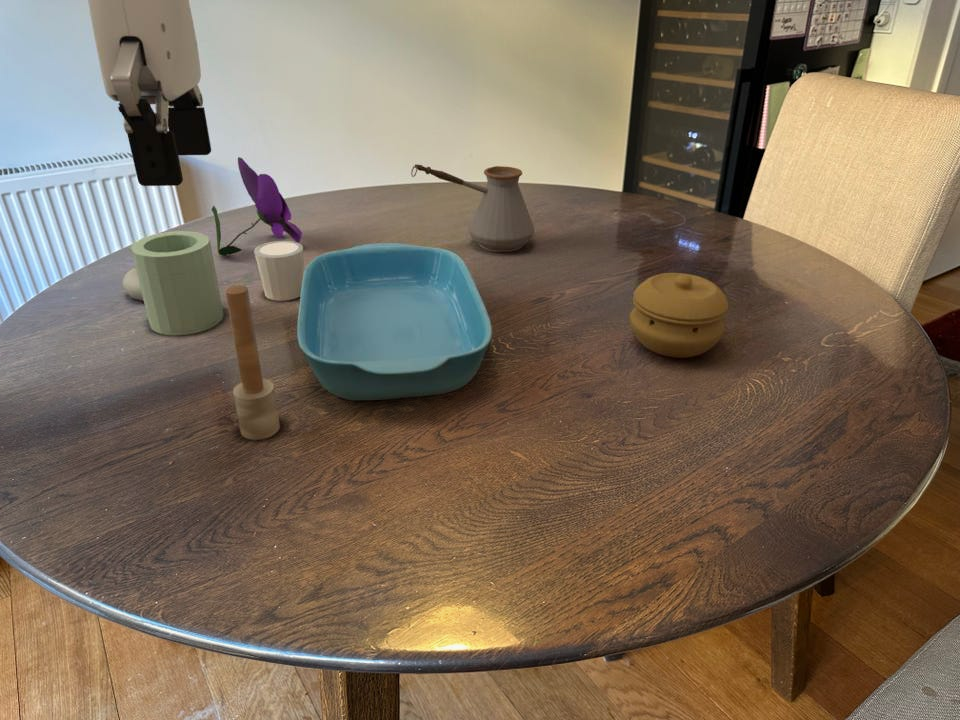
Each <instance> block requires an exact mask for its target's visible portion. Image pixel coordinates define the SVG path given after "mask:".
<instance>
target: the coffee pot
mask: <svg viewBox="0 0 960 720" xmlns="http://www.w3.org/2000/svg"><path fill="white" fill-rule="evenodd" d="M414 169H415V171H414ZM418 171H420V172H424V173H425V174H426V175H432V176H434V177H435V178H437V179H440V180H443V181H446V182H449V183H454V184H456V185H460V186H464V187H467V188H469V189H472V190H475V191H477V192H480V193H482V195H481V197H480V200H479V202H478V205H477V206H476V209H475V211H474V213H473V215H472V217H471V220H470V222H469V225H468V229H467V230H468V233H469V235H470V237H471V239H472V240H473V241H474V242H475V243H476V244H478V246H479V247H480V248H481V249H484V250H486V251H489V252H494V253H508V252H509V253H510V252H514V251H518V250H520V249H521V248H522V247H523V246H524V245H526V244H527V243H528V242H529V241H530V240H531V239H532V238H533V235H534V233H535V226H534V223H533V221H532V218H531V215H530V213H529V210H528V208H527V205H526V202H525V199H524V197H523V194H522V191H521V188H520V186H519V180H520V177H521V176H522V175H523V171H522V170H521V169H519V168H518V167H512V166H502V165H501V166H500V165H495V166H491V167H488V168H485V169H484V170H483V174H484V176H486V181H487V184H486V186H482V185H479V184H476V183H474V182H473V183H472V182H469V181H466V180H464V179H462V178H460V177H457V176H455V175H452V174H450V173H447V172H446V171H443V170H438V169H432V168H431V166H423V165H422V164H414V165H413V167H412V168H411V172H410V175H411V177H412V178H415V176H416V175H417V173H418ZM413 172H415V173H414V174H413Z"/></svg>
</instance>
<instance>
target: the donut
mask: <svg viewBox="0 0 960 720" xmlns="http://www.w3.org/2000/svg"><path fill="white" fill-rule="evenodd" d="M121 283H122V288H123V290H124V292H125V293H126V294H127V296H129V297H131V298H132V299H134V300H137V301H142V302H144V300H143V296H142V292H141V288H140V284H139V280H138V276H137V271H136V267H135V266H134V267H133V268H131V269H130V270H129V271H127V272H126V273H125V275H124V276H123V279H122V281H121Z"/></svg>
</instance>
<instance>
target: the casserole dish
mask: <svg viewBox="0 0 960 720" xmlns="http://www.w3.org/2000/svg"><path fill="white" fill-rule="evenodd" d="M296 324H297V325H296V326H297V327H296V328H297V329H296V334H297V342H298V346H299V348H300V350H301V351H302V353H303V354H304V357H305V359H306V361H307V363H308V365H309V367H310V369H311V370H312V372H313V374H314V376H315V377H316V379H317V381H318V382H319V383H320V385H321V386H322V387H323V388H324V389H325V390H326V391H327V392H329V393H330V394H333V395H334V396H336V397H339V398H341V399H344V400H348V401H360V402H361V401H385V400H386V401H388V400H398V399H401V398H405V399H407V398H418V397H419V398H420V397H428V396H436V395H442V394H447V393H451V392H453V391H457V390H458V389H461V388H463V387H465V385H467V384H468V383H470V382H471V381H472V380H473V378H475V376H476V374H477V372H478V370H479V369H480V366H481V364H482V361H483V359H484V357H485V354H486V352H487V350H488V347H489V345H490V343H491V340H492V337H493V326H492V322H491V319H490V315H489V313H488V310H487V307H486V305H485V302H484V300H483V299H482V296H481V293H480V292H479V289H478V287H477V285H476V282H475V280H474V278H473V276H472V273H471V271H470V269H469V268H468V266H467V264H466V262H465V261H464V260H463V259H462V258H461V257H460V256H459V255H458V254H456V253H455V252H454V251H451V250H448V249H445V248H441V247H434V246H433V247H431V246H423V245H422V246H421V245H414V244H408V243H400V242H378V243H367V244H360V245H356V246H353V247H350V248H346V249H345V248H344V249H340V250H338V249H337V250H333V251H328V252H325V253H323V254H320V255H318V256H316V257H314V258H313V259H312V260H311V261H310V262H309V263H307V265H306V267H305V269H304V275H303V280H302V287H301V296H300V298H299V307H298V313H297V323H296Z"/></svg>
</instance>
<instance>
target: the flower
mask: <svg viewBox="0 0 960 720" xmlns="http://www.w3.org/2000/svg"><path fill="white" fill-rule="evenodd" d="M237 166H238V170H239V173H240V177H241V180H242V183H243V185H244V187H245V190H246V191H247V194H248V196H249V197H250V199H251V200H252V202H253V203H254V206H255V208H256V214H257V216H258V219H257V220H256V221H255V222H254V223H253V222H251V226H250V227H248V228H247V229H245V230H243V231H242V232H240V233H238V234H237V235H236V237H235V238H234V239H233V240H231V242H230V243H229V244H227V245H226V246H223V247H221V239H222V238H221V237H222V233H221V221H220V218H219V215H218V209H217V208H216V206H215V205H213V206H212V207H211V212H212V213H213V215H214V222H215V231H216V245H217V254H218V255H219V256H222V257H226V258H227V257H228V256H230V255H234V254H237V253H239V252H241V251H242V248H239V247H238V246H235V245H232V244H233V243H234V242H235V241H236V240H237V239H238V238H239V237H240V236H242V235H244V234H245V235H247V232H248V231H250V230H251V229H253V228H254V227H256V225H257V224H258V223H259V222H260V221H261V222H263V223H264V224H266V225H268V226H270V230H271V232H272V234H273V236H274V237H278V238H283V236H284V232H285V233H286V234H287V235H289V236H290V237H291V238H292V240H293V241H294V242H297V243H300V244H301V239H302V236H303V232H302V231H301V229H300V228H299V227H298V226H297V225H296V224H295V223H292V222H290V221H291V219H292V213H291V211H290V208H289V206H288V204H287V202H286V200H285V198H284V196H283V195H282V193H281V192H280V190H279V187H278V185H277V183H276V181H275V180H274V179H273V177H272V176H270V174H267V173H259V174H258V173H257V172H256V171H255V170H254V169H253V168H252V167H250V165H248V163H247V162H246V161H245V160H244V159H243V157H240V156H238V157H237Z"/></svg>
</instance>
